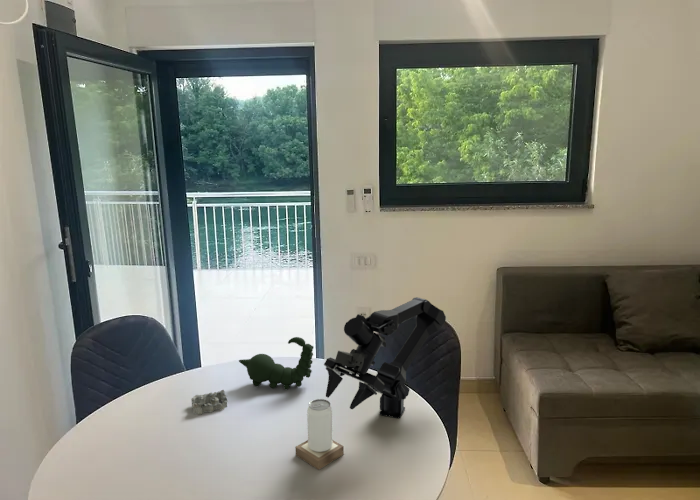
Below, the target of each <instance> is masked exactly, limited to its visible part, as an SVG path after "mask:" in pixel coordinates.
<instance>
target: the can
mask: <svg viewBox="0 0 700 500" xmlns="http://www.w3.org/2000/svg"><path fill="white" fill-rule="evenodd" d="M306 412H307V414H306V415H307V440H308V446H309V448H310V449H311V450H312V451H315V452H325V451H327V450H329V449H330V448H331V447H332V445H333V440H334V439H333V436H334V435H333V409H332V406H331V402H330V401H329V400H327V399H323V398H317V399H314V400H313V399H312V400H311V401H309V402H308V407H307V411H306Z"/></svg>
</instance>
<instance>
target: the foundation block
mask: <svg viewBox="0 0 700 500" xmlns="http://www.w3.org/2000/svg"><path fill="white" fill-rule="evenodd" d="M294 448H295V456H296V457H297V458H299V459H301V460H302V461H304V462H305V463H307V464H309V465H310V466H312V467H313V468H314V469H317V470H319V471H320V470H321V469H323V468H324V467H326V466H327V465H330V464H331V463H333V462H334V461H335V460H337V459H339V458H340V457H342V456H343V455H345V454H344V452H345V451H344V445H342V444H341V443H340V442H337V441H335V440H334V439H333V445H332V447H331V448H330V449H329V450H327V451H325V452H315V451H312V450H311V449H310V448H309V446H308V439H307V440H305V441H304V442H301V443H300V444H298V445H296V446H295V447H294Z"/></svg>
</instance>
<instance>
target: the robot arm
mask: <svg viewBox="0 0 700 500" xmlns="http://www.w3.org/2000/svg"><path fill="white" fill-rule="evenodd" d="M414 317H415V327H414V328H413V330H412V332H411V334H410V335H409V337H408V338H407V340H406V341H405V343H404V344H403V346H402V347H401V348H400V350H399V351H398V353H397V354H396V356H395V358H394V359H393V360H392V361H391V362H389V363H388V362H387V361H385V362H382V364H381V367H380V368H379V369H378V370H377V371H376V375H374V374H372V373H369V372H368V371H369V369H370V368H371V366H374V365H375V364H376V362H375V361H374V360H375V358H376V356H377V355H378V352H379V351H380V348H381V347H383V348H386V347H387V342H386V337H384V336H388V337H389V336H391V335H392V334H394V333H395V332H396V331H397V330H398V329H399V325H401V324H402V323H405V322H406V321H408V320H410V319H412V318H414ZM446 319H447V317H446V314H445V312H444V310H442V309H440V308H438V307H437V306H436V305H434V304H432V303H431V302H430V301H429V300H428V299H425V298H421V297H413V298H412V299H411V300H409V301H407V302H405V303H403V304H400V305H399V306H396V307H395V308H393V309H386V310H385V309H380V310H375V311H374V312H372V313H371V314H370V315H369V316H367V317H365V316H364V315H363V314H362V315H361V314H360V313H359V314H357V315H356V316H355V317H352V318H350V319H349V320H348V321H346V322H345V324H344V325H343V326H344V327H343V331H344V333H345V335H346V336H347V337H348V338H349V339H350V340H351V341H352V342H354V343H355V344H356V345H357V346H356V348H352V349H351V350H350V352H349V351H348V352H347V351H344V350H337V353H336V356H335V358H333V357H328V358H327V359H326V360H325V362H324V364H323V365H324V366H325V370H326V371H327V374H328V378H327V380H328V381H327V385H326V386H327V387H326V392H325V397H326V398H327V399H328V398H330V397H331V395H332V394H333V393H334V392H335V390H336V389H337V388H338V387H339V385H340V384H341V382H342V381H343V379H344V378H343V376H345V375H346V376H348V377H350V378H352V379H355V380H357V381H358V390H357V391H356V393H355V394H354V397H353V399H352V401H351V403H350V405H349V409H350V410H354V409H355V408H357V406H359V405H361V404H362V403H363V402H364V401H366V400H368V399H369V398H370V397H373V396H374V395H375V396H376V395H378V394H381V396H380V398H379V410H380V412H379V415H380V416H384V417H389V418H395V419H401V418H402V416H403V414H404V411H405V410H406V406H404V405H405V404H404V403H405V401H404V400H406V399H407V397H408V396H409V394H410V390H411V389H410V388H409V386H407V385H406V380H407V371H408V369H409V367H411V364H412V363H413V361H414V360H415V358H416V357H417V355H418V353H419V352H420V350H421V349H422V347H423V346H424V344H425V343H426V341H427V339H428V338H429V337H430V336H431V335H433V334H435V333H437V332H438V331H439V330H440V329H441V328H442V326H444V324H445V323H446ZM383 335H384V336H383Z"/></svg>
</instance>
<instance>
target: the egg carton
mask: <svg viewBox="0 0 700 500" xmlns="http://www.w3.org/2000/svg"><path fill="white" fill-rule="evenodd" d="M226 395H227V394H226V392H225V390H224V389H222V390H219V391H217V392H216V391H215V392H209V393H205V394H195V395H194V396H193V397H191V398H190V400H191V409H193V414H194V415H202V414H203V413H206V412H209V413H212V412H214V411H216V410H220V411H223V410H225V408H228V403H229V401H228V400H229V399H228V398H227V396H226ZM220 401H221V402H220Z"/></svg>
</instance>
